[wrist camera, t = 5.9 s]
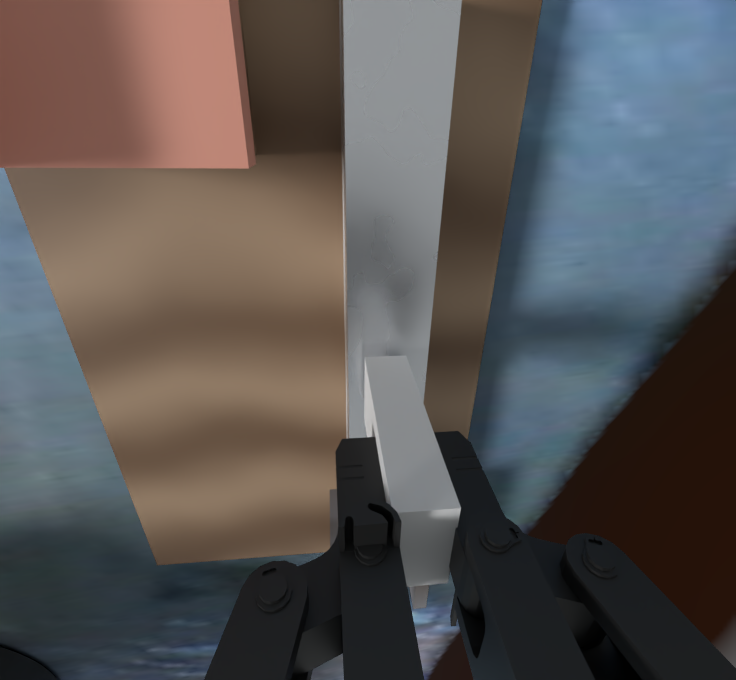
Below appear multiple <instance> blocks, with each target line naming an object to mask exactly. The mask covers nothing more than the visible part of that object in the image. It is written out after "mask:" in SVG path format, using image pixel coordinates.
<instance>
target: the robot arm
mask: <svg viewBox="0 0 736 680" xmlns="http://www.w3.org/2000/svg"><path fill="white" fill-rule="evenodd" d="M364 419H365V426H366V434H367V437H364V438H347V439H342V440H341V442H340V444H339V446H338V448H337V450H336V452H335V454H336V482H337V509H338V533H337V536H336V539H335V541H334V543H333V544H332V546H331V547H330V549H329V550H327V551H326V552H325V553H324V554H323V555H322V556H320V557H318V558H316V559H315V560H312V561H310V562H308V563H305V564H303V565H301V566H298V567H297V566H296V565H295V564H292V563H290V562H287V561H272V562H269V563H267V564H265V565H262V566H260V567H259V568H258V569H256V570H255V571H254V572H253V573H252V574H251V575H249V577H248V579H247V580H246V582H245V584H244V585H243V587H242V589H241V591H240V594H239V596H238V599H237V601H236V604H235V606H234V608H233V611H232V613H231V616H230V618H229V621H228V623H227V625H226V628H225V630H224V633H223V635H222V638H221V640H220V642H219V645H218V647H217V650H216V652H215V655H214V657H213V660H212V662H211V664H210V667H209V669H208V672H207V674H206V677H205V679H204V680H311V675H312V670H313V669H314V668H316V667H318V666H320V665H321V664H323V663H325V662H327V661H329V660H331V659H333V658H334V657H336V656H338V655H340V654H342V653H343V666H344V680H424V676H423V671H422V665H421V660H420V654H419V649H418V643H417V638H416V633H415V627H414V622H413V616H412V611H411V605H410V600H409V595H408V589H407V587H411V586H421V585H432V584H443V583H448V579H449V573H450V572H451V575H452V579H453V582H454V586H455V594H454V599H453V605H452V610H451V615H450V618H451V626H456V621H457V619H458V623H459V626H460V630H461V634H462V637H463V641H464V645H465V649H466V652H467V656H468V660H469V664H470V667H471V671H472V675H473V678H474V680H736V668H735V667H734V666H733V665H732V664H731V663H730V662H729V661H728V660H727V659H726V658H725V657H724V656H723V655H722V654H721V653H720V652H719V651H718V650H717V649H716V648H715V647H714V645H713V644H712V643H711V642H710V641H709V640H708V639H707V638H706V637H705V636H704V635H703V634H702V633H701V632H700V631H699V630H698V629H697V628H696V627H695V626H694V625H693V624H692V623H691V622H690V621H689V620H688V619H687V618H686V616H685V615H684V614H683V613H682V612H681V611H680V610H679V609H678V608H677V607H676V606H675V605H674V604H673V603H672V602H671V601H670V600H669V599H668V598H667V597H666V596H665V595H664V594H663V593H662V592H661V591H660V590H659V589H658V587H656V585H655V584H654V583H653V582H652V581H651V580H650V579H649V578H648V577H647V576H646V575H645V574H644V573H643V572H642V571H641V570H640V569H639V568H638V567H637V566H636V565H635V564H634V563H633V562H632V561H631V560H630V558H629V557H628V556H627V555H625V553H624V552H623V551H621V550H620V549H619V548H618V547H617V546H615V545H614V544H613V543H612V542H610V541H608V540H606V539H604V538H602V537H600V536H596V535H592V534H587V533H585V534H578V535H575V536H573V537H572V538H570V539H569V540H568V543H567V545H562V544H558V543H553V542H549V541H544V540H540V539H537V538H533V537H530V536H528V535H526V534H524V533H522V531H521V530H520V528H519V527H518V526H517V525H516V524H514V523H513V522H512V521H510V520H509V519H507V518H506V517H505V515H504V514H503V512H502V510H501V508H500V506H499V503H498V501H497V499H496V497H495V495H494V493H493V490H492V488H491V486H490V484H489V482H488V480H487V477H486V475H485V473H484V471H483V470H482V467H481V464H480V462H479V460H478V459H477V456H476V454H475V451H474V449H473V447H472V445H471V443H470V442H469V441H468V440H467V439H466V438H465V437H464V436H463V435H462V434H461V433H460V432H459V431H448V432H434V431H433V429H432V426H431V423H430V420H429V418H428V415H427V412H426V409H425V406H424V404H423V401H422V398H421V395H420V392H419V390H418V387H417V384H416V381H415V379H414V376H413V373H412V370H411V367H410V365H409V362H408V359H407V356H406V355H405V356H380V357H365V390H364ZM0 680H57V679H56V678H55V677H54V675H53V674H52V673H51V672H49V671H48V670H47V669H46V668H44V667H43V666H42V665H40V664H38V663H37V662H35V661H33V660H31V659H30V658H27V657H25V656H23V655H21V654H18V653H16V652H13V651H10V650H7V649H4V648H1V647H0Z"/></svg>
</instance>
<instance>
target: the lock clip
mask: <svg viewBox="0 0 736 680" xmlns="http://www.w3.org/2000/svg"><path fill="white" fill-rule="evenodd" d="M254 165H256V159H255V150H254V140H253V131H252V122H251V113H250V104H249V95H248V86H247V77H246V68H245V59H244V50H243V41H242V32H241V23H240V14H239V5H238V0H0V168H239V169H249V168H251V167H252V166H254Z"/></svg>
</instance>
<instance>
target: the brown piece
mask: <svg viewBox="0 0 736 680" xmlns="http://www.w3.org/2000/svg"><path fill="white" fill-rule="evenodd" d="M238 5H239V14H240V23H241V32H242V41H243V50H244V59H245V68H246V77H247V86H248V95H249V104H250V113H251V122H252V131H253V140H254V150H255V159H256V165H254V166H252V167H251V168H249V169H239V168H4V169H5V171H6V174H7V176H8V179H9V182H10V184H11V187H12V189H13V192H14V195H15V197H16V200H17V202H18V205H19V208H20V210H21V213H22V215H23V218H24V220H25V223H26V226H27V228H28V231H29V233H30V236H31V239H32V241H33V244H34V246H35V249H36V252H37V254H38V257H39V259H40V262H41V265H42V267H43V270H44V272H45V275H46V278H47V280H48V283H49V285H50V288H51V291H52V293H53V296H54V298H55V301H56V304H57V306H58V309H59V311H60V314H61V317H62V319H63V322H64V324H65V327H66V330H67V332H68V335H69V337H70V340H71V342H72V345H73V348H74V350H75V353H76V355H77V358H78V361H79V363H80V366H81V368H82V371H83V374H84V376H85V379H86V381H87V384H88V387H89V389H90V392H91V394H92V397H93V400H94V402H95V405H96V407H97V410H98V413H99V415H100V418H101V420H102V423H103V426H104V428H105V431H106V433H107V436H108V439H109V441H110V444H111V446H112V449H113V452H114V454H115V457H116V459H117V462H118V464H119V467H120V470H121V472H122V475H123V477H124V480H125V483H126V485H127V488H128V490H129V493H130V496H131V498H132V501H133V503H134V506H135V509H136V511H137V514H138V516H139V519H140V522H141V524H142V527H143V529H144V532H145V535H146V537H147V540H148V542H149V545H150V548H151V550H152V553H153V555H154V558H155V561H156V563H157V565H167V564H180V563H193V562H205V561H218V560H231V559H244V558H257V557H270V556H283V555H296V554H309V553H321V552H326V551H327V550H329V549H330V547H331V546H332V544H333V543H334V541H335V539H336V536H337V533H338V509H337V482H336V454H335V452H336V450H337V448H338V446H339V444H340V442H341V440H342V439H347V438H348V417H347V353H346V290H345V226H344V163H343V99H342V35H341V0H238ZM541 5H542V0H462V4H461V15H460V25H459V36H458V46H457V57H456V67H455V78H454V88H453V99H452V109H451V120H450V130H449V141H448V151H447V162H446V172H445V183H444V193H443V204H442V214H441V225H440V235H439V246H438V256H437V266H436V277H435V287H434V298H433V308H432V319H431V329H430V340H429V350H428V361H427V371H426V382H425V392H424V403H423V404H424V406H425V409H426V412H427V415H428V418H429V420H430V423H431V426H432V429H433V431H434V432H448V431H459V432H460V433H461V434H462V435H463V436H464V437H465V438H466V439H467V440H468V435H469V429H470V423H471V417H472V411H473V406H474V400H475V394H476V388H477V382H478V376H479V370H480V364H481V358H482V353H483V347H484V341H485V335H486V329H487V323H488V317H489V311H490V305H491V299H492V294H493V288H494V282H495V276H496V270H497V264H498V258H499V252H500V246H501V241H502V235H503V229H504V223H505V217H506V211H507V205H508V199H509V193H510V188H511V182H512V176H513V170H514V164H515V158H516V152H517V146H518V140H519V135H520V129H521V123H522V117H523V111H524V105H525V99H526V93H527V87H528V82H529V76H530V70H531V64H532V58H533V52H534V46H535V40H536V34H537V29H538V23H539V17H540V11H541ZM409 588H410V593H411V599H412V605H413V609H417V608H426V604H427V597H428V590H429V585H421V586H411V587H409Z"/></svg>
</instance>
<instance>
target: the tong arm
mask: <svg viewBox="0 0 736 680" xmlns="http://www.w3.org/2000/svg"><path fill="white" fill-rule="evenodd" d="M461 4H462V0H341V35H342V99H343V163H344V226H345V290H346V353H347V417H348V438H364V437H367V434H366V426H365V419H364V390H365V357H380V356H405V355H406V356H407V359H408V362H409V365H410V367H411V370H412V373H413V376H414V379H415V381H416V384H417V387H418V390H419V392H420V395H421V398H422V401H423V403H424V392H425V382H426V371H427V361H428V350H429V340H430V329H431V319H432V308H433V298H434V287H435V277H436V266H437V256H438V246H439V235H440V225H441V214H442V204H443V193H444V183H445V172H446V162H447V151H448V141H449V130H450V120H451V109H452V99H453V88H454V78H455V67H456V57H457V46H458V36H459V25H460V15H461Z"/></svg>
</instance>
